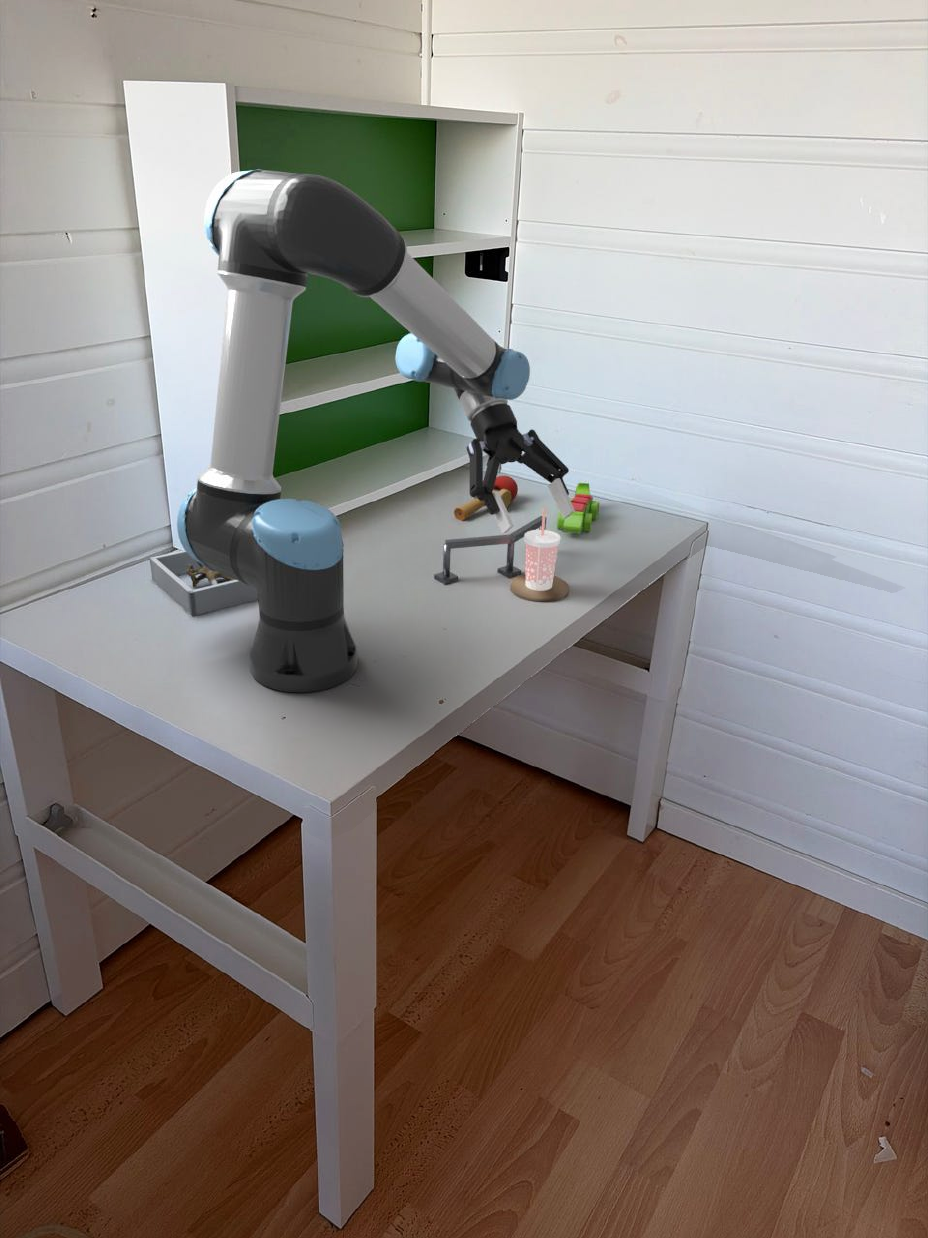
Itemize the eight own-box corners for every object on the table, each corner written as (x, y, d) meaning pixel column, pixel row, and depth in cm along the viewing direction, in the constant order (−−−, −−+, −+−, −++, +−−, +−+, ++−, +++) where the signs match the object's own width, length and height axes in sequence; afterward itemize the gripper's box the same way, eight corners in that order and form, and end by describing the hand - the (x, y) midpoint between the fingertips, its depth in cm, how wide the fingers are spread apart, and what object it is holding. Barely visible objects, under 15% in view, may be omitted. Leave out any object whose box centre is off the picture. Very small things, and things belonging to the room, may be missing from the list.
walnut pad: (536, 607, 155) (537, 602, 155) (498, 585, 162) (498, 581, 162) (580, 592, 160) (581, 588, 160) (541, 572, 167) (541, 568, 167)
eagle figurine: (192, 595, 152) (247, 580, 154) (180, 552, 152) (236, 538, 154) (197, 600, 159) (250, 586, 161) (186, 560, 160) (238, 547, 162)
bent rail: (458, 592, 159) (459, 552, 155) (434, 578, 164) (435, 538, 160) (566, 560, 173) (570, 523, 169) (541, 548, 178) (544, 511, 174)
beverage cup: (559, 580, 163) (566, 504, 156) (552, 594, 157) (559, 516, 151) (525, 575, 164) (530, 499, 158) (517, 589, 159) (522, 511, 153)
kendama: (478, 532, 188) (529, 498, 200) (472, 503, 185) (524, 470, 197) (449, 529, 193) (500, 496, 204) (442, 500, 190) (495, 468, 202)
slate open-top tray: (192, 616, 148) (189, 593, 146) (152, 579, 159) (149, 557, 157) (270, 595, 155) (269, 573, 153) (227, 562, 167) (225, 541, 165)
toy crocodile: (584, 543, 181) (587, 513, 178) (551, 538, 183) (553, 509, 180) (601, 510, 198) (604, 482, 195) (570, 506, 200) (573, 479, 197)
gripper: (532, 416, 172) (581, 518, 168) (420, 434, 158) (470, 546, 154) (554, 393, 165) (605, 499, 162) (439, 409, 152) (492, 526, 148)
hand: (539, 522), depth 158 cm, fingers open, 13 cm apart
